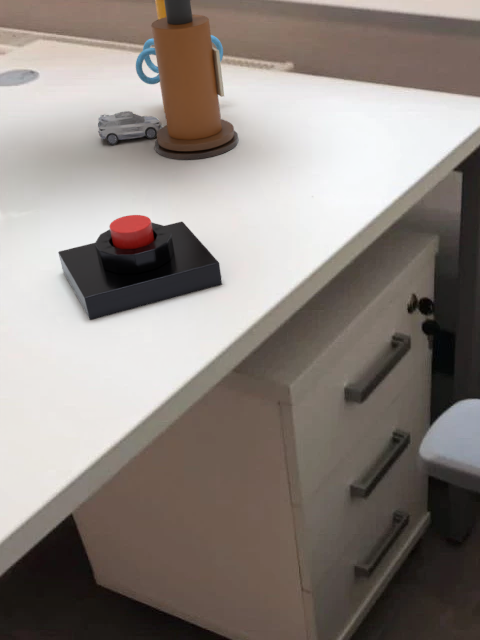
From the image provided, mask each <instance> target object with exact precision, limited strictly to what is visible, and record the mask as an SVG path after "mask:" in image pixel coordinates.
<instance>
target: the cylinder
mask: <svg viewBox="0 0 480 640" xmlns="http://www.w3.org/2000/svg"><path fill="white" fill-rule="evenodd" d="M154 3H155V10H156V17H157V20H158V19H161V18H165V17H167V16H166V9H165V2H164V0H154ZM211 41H212V44H214V47H215V48H216V49H217V50H219V54H220V63H221V62H222V61H223V57H224V48H223V44H222V42H221V41H220V39H219V38H218V37H216V36H214V35H213V34H211ZM151 46H154V39H153V37H152V38H148V39H146V41H145V42H144V44H143V48H142V51H141V52H140V53H139V54H138V56H137V58H136V60H135V71H136V74H137V77H138V78H139V79H140V80H141V81H142V82H143V83H145V84H147V85H156V84H158V83H159V86H160V88H161V84H160V78H159V71H158V65H156V64H154V63H153V61H152V59H151V55H152V56H153V55H154V56H156V52H155V47H151ZM144 62H145V64H146V65H147V67H148V69H150V70H151V71H152V72H153V73H156V74H157V75H156V76H154V77H150V76H147V75H146V74H145V73H144V71H143V63H144ZM160 93H161V95H162V90H161V89H160ZM161 99H162V101H163V97H162V96H161ZM162 107H164V103H163V102H162ZM163 112H164V113H165V110H164V109H163Z"/></svg>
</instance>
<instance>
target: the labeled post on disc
mask: <svg viewBox="0 0 480 640" xmlns="http://www.w3.org/2000/svg"><path fill="white" fill-rule="evenodd" d="M164 2H165V9H166V16H167V17H165V18H161V19H158V18H157V19H155V20H154V21H153V22H152V23H151V25H150V26H151V33H152V38H153V39H154V45H153V46H154V48H155V52H156V55H155V59H156V66H157V67H158V71H159V73H158V74H159V78H160V82H159V85H160V84H161V87H160V91H161V90H162V94H161V98H162V97H163V100H162V104H163V103H164V106H163V111H164V110H165V112H164V115H165V122H166V125H163V126H162V127H163V128H161V129H160V130H159V131H158V132H157V135H156V139H157V141H158V144H159V145H160V146H161V147H163V148H165V149H169V150H174V151H200V150H206V149H211V148H214V147H218V146H220V145H223V144H225V143H227V142H229V141H230V140H231V139H232V138H233V137H234V131H235V128H234V125H233V124H232V122H230V121H228V120H225V119H221V109H220V102H219V97H220V98H222V97H225V91H224V82H223V81H224V80H223V74H222V65H221V63H220V54H219V50H217V48H216V47H215V46H213V43H212V41H211V35H212V33H211V25H210V18H209V17H207V16H205V15H203V14H202V15H201V14H193V11H192V5H191V0H164Z"/></svg>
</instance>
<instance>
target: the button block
mask: <svg viewBox="0 0 480 640" xmlns="http://www.w3.org/2000/svg"><path fill="white" fill-rule="evenodd" d="M151 224H152V229H153V235H154V241H153V242H152V243H150V244H148V245H147V246H143V247H139V248H135V249H119V248H116V247H114V245H113V241H112V236H111V232H110V228H109V229H108V230H105V231H104V232H102V233H100V234H99V236H98V238H97V239H96V240H95V242H93V243H88V244H84V245H80V246H76V247H71V248H68V249H64V250H60V251H58V257H59V261H60V265H61V269H62V273H63V274H64V276H65V278H66V280H67V282H68V283H69V286H70V288H71V289H72V291H73V292H74V295H75V296H76V298H77V299H78V301H79V303H80V305H81V307H82V309H83V311H84V313H85V314H86V316H87V317H88V320H89V321H92V320H97V319H99V318H104V317H107V316H111V315H115V314H119V313H122V312H126V311H129V310H133V309H137V308H142V307H144V306H145V307H146V306H148V305H152V304H155V303H159V302H163V301H167V300H170V299H171V300H172V299H174V298H178V297H181V296H185V295H189V294H192V293H197V292H200V291H204V290H207V289H212V288H214V287H219V286H222V285H223V281H222V273H221V266H220V265H221V264H220V262H219V260H218V259H216V257H215V256H214V255H213V254H212V253H211V252H210V251H209V250H208V248H207V247H206V246H205V245H204V244H203V243H202V241H200V239H199V238H198V237H197V236H196V235H195V234H194V232H193V231H191V229H190V228H189V227H188V225H186V224H185V222H184V221H178V222H175V223H170V224H165V225H163V224H159V223H156V222H152V221H151Z"/></svg>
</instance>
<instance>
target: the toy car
mask: <svg viewBox="0 0 480 640" xmlns="http://www.w3.org/2000/svg"><path fill="white" fill-rule="evenodd" d="M97 127H98V131H97V132H98V135H99V137H100V139H101V142H104V141H103V140H106V142H107V144H108V145H110V146H115V145H117V144H118V142H119V141H120V140H122V141H123V140H130V139H139V138H144V137H146V138H147V139H149V140H153V139H155V138H157V132H158V131H159V130H160V129H161V128H163V127H164V126H162V122H161V120H160V119H159V118H157V117H156V116H153V115H139V114H136V113H134V112H133V111H130V110H125V111H120V112H117V113H114V114H100V116H98V122H97Z"/></svg>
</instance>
